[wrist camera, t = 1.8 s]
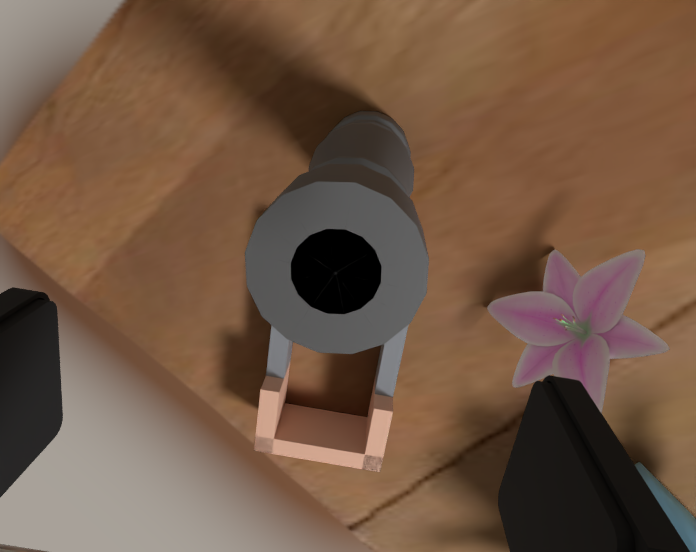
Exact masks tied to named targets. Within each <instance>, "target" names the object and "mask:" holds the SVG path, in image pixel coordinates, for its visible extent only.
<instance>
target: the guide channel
mask: <svg viewBox="0 0 696 552" xmlns="http://www.w3.org/2000/svg"><path fill="white" fill-rule="evenodd" d="M407 329H408V325H407V326H406V327H405V328H404V329H402V330H401V331H400V332H399V333H397V334H396V335H395V336H394V337H392V338H391V339H390V340H389V341H388V342H386V343H385V344H383V345H381V350H380V355H379V360H378V365H377V370H376V375H375V380H374V385H373V390H372V395H371V400H370V406H369V411H368V416H367V417H363V416H357V415H351V414H345V413H339V412H334V411H328V410H322V409H316V408H310V407H304V406H298V405H293V404H287V403H285V400H286V392H287V384H288V376H289V368H290V360H291V352H292V344H293V342H292V341H290V340H287V339H286V338H285V337H284V336H283V335H282V334H281V333H279V332H278V331H277V330H276V329H275V328H274V327H273V326H272V325H271V335H270V344H269V353H268V362H267V372H266V377H265V380H264V382H263V385H262V387H261V390H260V399H259V409H258V418H257V428H256V437H255V447H254V451H260V452H265V453H271V454H277V455H283V456H289V457H295V458H300V459H306V460H312V461H318V462H324V463H329V464H335V465H341V466H347V467H353V468H359V469H364V470H370V471H376V472H380V469H381V465H382V460H383V456H384V451H385V446H386V442H387V437H388V433H389V428H390V423H391V419H392V414H393V394H394V390H395V385H396V380H397V376H398V371H399V366H400V362H401V357H402V352H403V348H404V343H405V338H406V334H407Z"/></svg>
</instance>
